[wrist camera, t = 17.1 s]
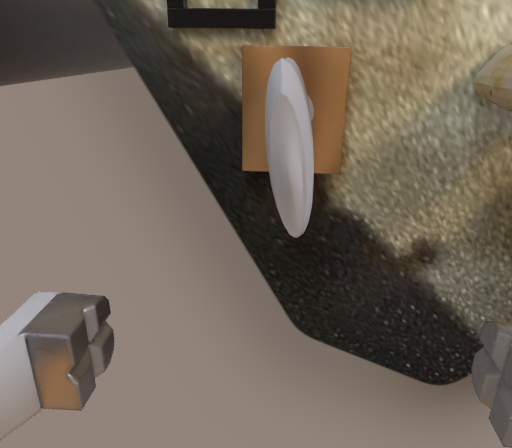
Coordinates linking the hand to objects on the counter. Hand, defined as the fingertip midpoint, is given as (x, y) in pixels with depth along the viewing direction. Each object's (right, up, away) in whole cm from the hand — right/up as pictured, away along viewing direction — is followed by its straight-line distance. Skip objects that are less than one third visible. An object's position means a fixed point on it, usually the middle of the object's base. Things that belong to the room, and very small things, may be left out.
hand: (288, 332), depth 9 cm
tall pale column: (+3, +13, +33) cm, 35 cm away
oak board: (+3, +14, +34) cm, 37 cm away
